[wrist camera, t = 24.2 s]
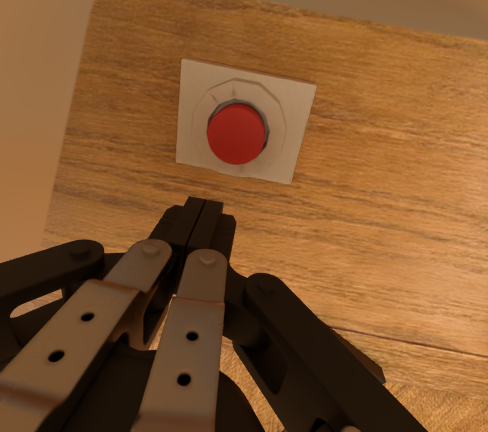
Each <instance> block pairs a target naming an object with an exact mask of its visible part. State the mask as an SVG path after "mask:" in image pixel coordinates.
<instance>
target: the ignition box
mask: <svg viewBox="0 0 488 432" xmlns="http://www.w3.org/2000/svg"><path fill="white" fill-rule="evenodd" d="M316 89H317V85H316V84H315V83H314V82H311V81H306V80H301V79H296V78H291V77H286V76H281V75H276V74H271V73H266V72H260V71H255V70H250V69H245V68H240V67H235V66H230V65H225V64H220V63H215V62H210V61H205V60H200V59H195V58H182V59H181V75H180V92H179V109H178V126H177V143H176V159H175V162H176V163H181V164H186V165H191V166H196V167H201V168H206V169H212V170H216V171H217V172H218V173H221V174H225V175H230V176H235V177H241V178H244V177H252V178H257V179H262V180H267V181H272V182H277V183H282V184H287V185H290V184H291V181H292V177H293V173H294V170H295V166H296V162H297V159H298V155H299V151H300V148H301V144H302V140H303V136H304V133H305V129H306V125H307V122H308V118H309V114H310V111H311V107H312V103H313V100H314V96H315V92H316ZM235 103H241V104H245V105H248V106H250V107H252V108H254V109H255V110H256V111H257V112H258V113H259V114H260V116H261V117H262V119H263V122H264V125H265V139H264V144H263V147H262V150H261V152H260V153H259V154H258V156H257V157H256V158H255V159H253V160H252V161H250V162H248V163H246V164H241V165H233V164H228V163H226V162H224V161H222V160H220V159H219V158H218V157H217V156H216V155H215V154H214V153H213V152H212V150H211V148H210V146H209V143H208V138H207V132H208V127H209V124H210V122H211V120H212V119H213V117H214V116H215V115H216V114H217V113H218V112H219V111H220V110H221V109H222V108H224V107H225V106H227V105H230V104H235Z"/></svg>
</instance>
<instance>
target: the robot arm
mask: <svg viewBox="0 0 488 432" xmlns="http://www.w3.org/2000/svg"><path fill="white" fill-rule="evenodd" d="M223 204H224V203H223V202H218V201H213V200H207V201H206V199H202V198H196V197H191V196H189V198H188V199H187V201H186V203H185V205H184V206H179V205H174V206H172V207H171V208H169V209H167V210H166V212H165V213H164V215H163V216H162V218H161V219H160V221H159V223H158V224H157V225H156V227H155V228H154V230H153V231H152V233H151V234H150V236H149V237H148V239H145V240H141V241H138V242H136V243H135V244H133V245H132V246H131V248H130V249H129V250H128V251H127V252H125V253H104V248H103V246H102V245H101V244H100V243H98V242H96V241H93V240H76V241H71V242H68V243H65V244H62V245H58V246H55V247H52V248H49V249H45V250H42V251H39V252H36V253H32V254H29V255H26V256H23V257H19V258H16V259H13V260H10V261H6V262H3V263H0V432H265V430H264V429H263V427H262V425H261V423H260V421H259V420H258V418H257V416H256V414H255V412H254V411H253V409H252V407H251V405H250V403H249V401H248V400H247V398H246V396H245V395H244V393H243V392H242V391H241V389H240V388H239V387H238V386H237V385H236V384H235V382H234V381H233V380H231V379H230V378H229V377H228V376H227V375H225V374H224V373H222V372H221V371H219V367H220V356H221V344H222V335H223V336H225V337H227V338H228V339H230V340H232V344H233V348H234V350H235V352H236V353H237V355H238V356H239V358H240V359H241V361H242V362H243V364H244V365H245V367H246V369H247V370H248V372H249V373H250V375H251V376H252V378H253V379H254V381H255V382H256V384H257V386H258V387H259V389H260V390H261V392H262V393H263V395H264V396H265V398H266V399H267V401H268V403H269V404H270V406H271V407H272V409H273V410H274V412H275V413H276V415H277V416H278V418H279V420H280V421H281V423H282V424H283V426H284V427H285V429H286V430H287V432H428V431H427V430H426V429H425V428H424V427H423V426H422V425H421V424H420V423H419V422H418V421H417V420H416V419H415V418H414V417H413V415H412V414H411V413H410V412H409V411H408V410H407V409H406V408H405V407H404V406H403V405H402V404H401V403H400V402H399V401H398V400H397V399H396V398H395V397H394V396H393V395H392V394H391V393H390V392H389V391H388V390H387V389H386V388H385V387H384V386H383V385H382V384H381V382H380V381H379V380H378V379H377V378H376V377H375V376H374V375H373V374H372V373H371V372H370V371H369V370H368V369H367V368H366V367H365V366H364V365H363V364H362V363H361V362H360V361H359V360H358V359H357V358H356V357H355V356H354V355H353V354H352V353H351V352H350V351H349V350H348V348H347V347H346V346H345V345H344V344H343V343H342V342H341V341H340V340H339V339H338V338H337V337H336V336H335V335H334V334H333V333H332V332H331V331H330V330H329V329H328V328H327V327H326V326H325V325H324V324H323V323H322V322H321V321H320V320H319V319H318V318H317V317H316V315H315V314H314V313H313V312H312V311H311V310H310V309H309V308H308V307H307V306H306V305H305V304H304V303H303V302H302V301H301V300H300V299H299V298H298V297H297V296H296V295H295V294H294V293H293V292H292V291H291V290H290V289H289V288H288V287H287V286H286V285H285V284H284V283H283V281H281V280H280V279H279V278H277V277H276V276H273V275H271V274H267V273H256V274H253V275H251V276H249V277H248V278H246V277H244V276H242V275H240V274H238V273H237V272H236V271H234V270H233V269H232V267H231V266H230V263H229V260H230V255H231V251H232V245H233V239H234V234H235V228H236V221H235V219H234V217H233V216H232V215H227V214H222V212H223ZM59 289H61V291H62V296H63V298H61V299H59V300H56V301H54V302H52V303H49V304H47V305H44V306H42V307H40V308H37V309H35V310H32V311H30V312H28V313H25V314H23V315H21V316H18V317H15V318H10V314H11V313H12V311H13V310H14V309H15V308H16V307H18V306H19V305H21V304H24V303H26V302H29V301H31V300H34V299H36V298H39V297H41V296H44V295H46V294H49V293H51V292H54V291H56V290H59ZM173 294H176V297H173V298H172V295H173ZM171 298H172V301H171V304H170V308H169V302H170V300H171ZM168 309H169V311H168ZM167 312H168V315H167V318H166V321H165V325H164V328H163V331H162V335H161V338H160V342H159V345H158V348H157V350H149V348H150V346H151V344H152V342H153V340H154V338H155V336H156V334H157V332H158V330H159V328H160V326H161V324H162V322H163V320H164V318H165V316H166V314H167Z"/></svg>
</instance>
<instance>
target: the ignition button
mask: <svg viewBox="0 0 488 432" xmlns="http://www.w3.org/2000/svg"><path fill="white" fill-rule="evenodd" d="M207 138H208V143H209V146H210V148H211V150H212V152H213V153H214V154H215V155H216V156H217V157H218V158H219V159H220V160H222V161H224V162H226V163H228V164H233V165H241V164H246V163H248V162H250V161H252V160H253V159H255V158H256V157H257V156H258V154H259V153H260V152H261V150H262V147H263V144H264V139H265V125H264V122H263V119H262V117H261V116H260V114H259V113H258V112H257V111H256V110H255V109H254V108H252V107H250V106H248V105H245V104H241V103H235V104H230V105H227V106H225V107H224V108H222V109H221V110H220V111H219V112H218V113H217V114H216V115H215V116H214V117H213V119H212V120H211V122H210V124H209V127H208V132H207Z"/></svg>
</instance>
